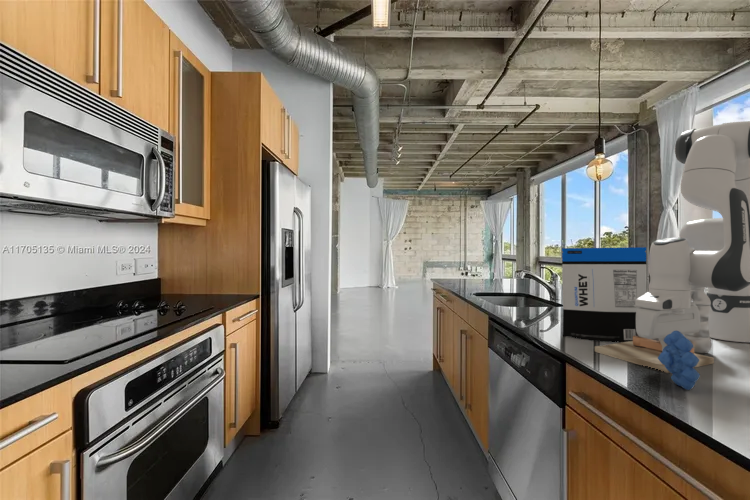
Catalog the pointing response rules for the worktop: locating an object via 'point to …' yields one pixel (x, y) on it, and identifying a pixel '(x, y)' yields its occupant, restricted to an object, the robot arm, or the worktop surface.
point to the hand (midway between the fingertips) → (669, 352)
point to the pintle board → (642, 355)
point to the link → (649, 343)
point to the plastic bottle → (701, 321)
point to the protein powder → (602, 292)
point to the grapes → (680, 360)
